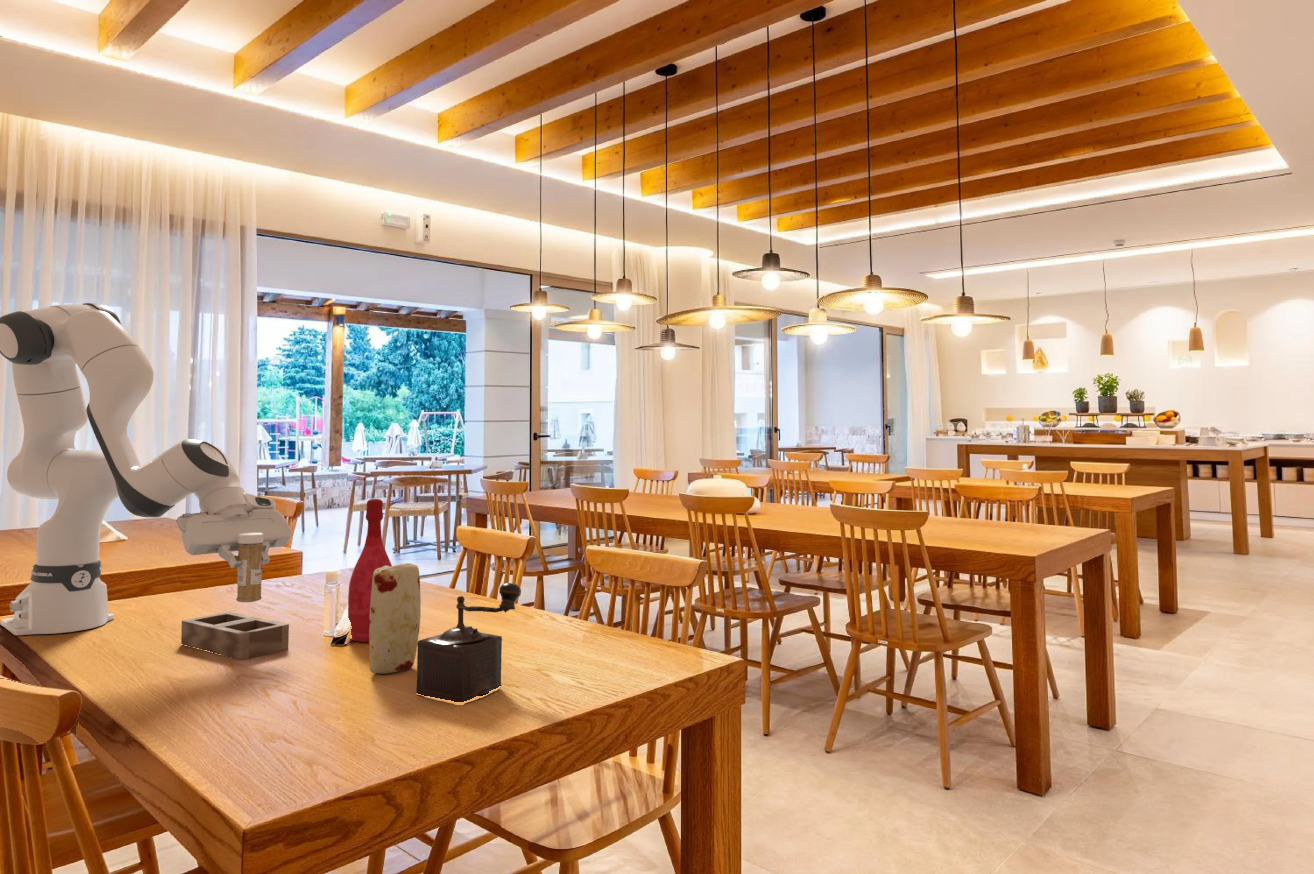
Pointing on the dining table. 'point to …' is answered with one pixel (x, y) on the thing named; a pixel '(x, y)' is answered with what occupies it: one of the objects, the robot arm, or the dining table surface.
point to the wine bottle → (366, 573)
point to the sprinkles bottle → (249, 567)
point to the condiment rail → (235, 635)
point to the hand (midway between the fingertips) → (251, 564)
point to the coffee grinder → (463, 656)
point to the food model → (394, 618)
